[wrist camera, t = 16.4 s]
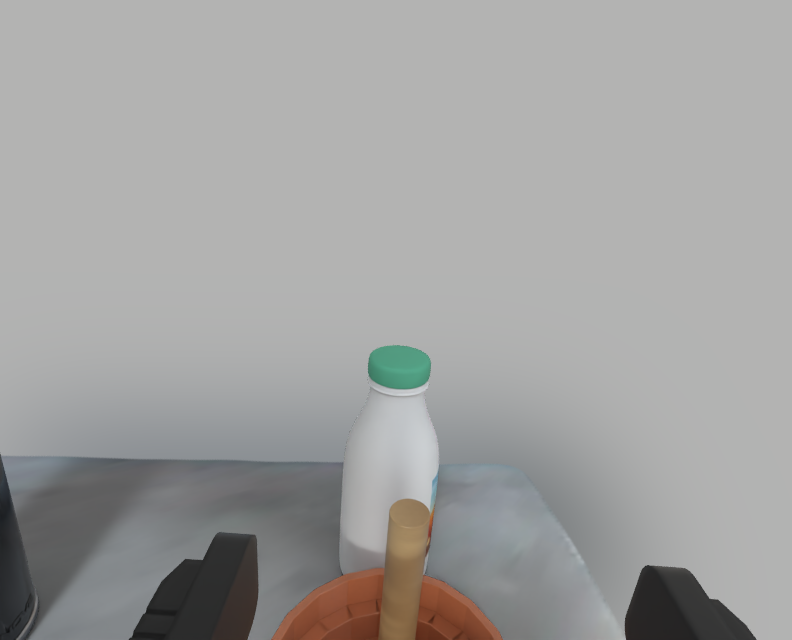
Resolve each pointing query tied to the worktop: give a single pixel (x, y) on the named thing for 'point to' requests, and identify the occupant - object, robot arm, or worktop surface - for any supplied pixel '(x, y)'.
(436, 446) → the milk bottle
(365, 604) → the bowl
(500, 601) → the worktop surface
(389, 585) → the stirring stick
